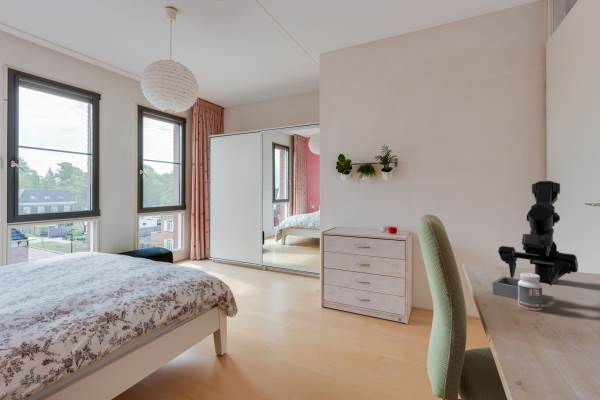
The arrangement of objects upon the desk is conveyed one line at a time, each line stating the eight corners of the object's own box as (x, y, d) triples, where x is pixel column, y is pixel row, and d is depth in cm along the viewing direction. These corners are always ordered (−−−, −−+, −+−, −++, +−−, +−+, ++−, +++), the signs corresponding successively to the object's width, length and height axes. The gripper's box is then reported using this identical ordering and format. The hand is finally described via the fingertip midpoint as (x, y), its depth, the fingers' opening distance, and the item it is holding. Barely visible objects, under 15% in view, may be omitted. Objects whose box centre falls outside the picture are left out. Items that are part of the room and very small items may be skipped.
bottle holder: (502, 286, 102) (502, 276, 102) (537, 294, 94) (537, 282, 94) (492, 293, 96) (492, 282, 96) (529, 302, 88) (529, 289, 88)
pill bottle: (546, 311, 82) (546, 278, 81) (524, 310, 83) (524, 277, 82) (534, 303, 87) (534, 272, 87) (513, 302, 88) (513, 271, 88)
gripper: (499, 222, 95) (487, 259, 88) (576, 226, 80) (568, 272, 74) (507, 242, 100) (496, 279, 93) (581, 250, 85) (574, 294, 79)
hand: (530, 280), depth 85 cm, fingers open, 9 cm apart
